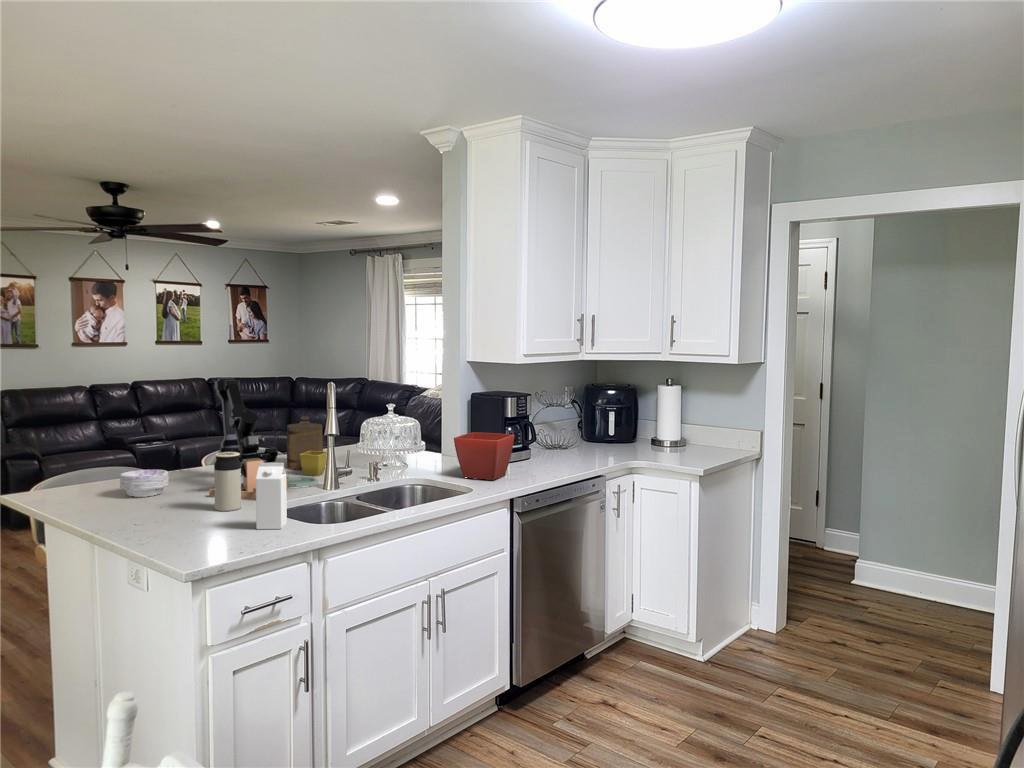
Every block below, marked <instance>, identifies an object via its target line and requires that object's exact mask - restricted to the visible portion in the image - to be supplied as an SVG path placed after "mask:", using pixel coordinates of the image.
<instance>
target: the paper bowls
mask: <svg viewBox="0 0 1024 768" xmlns="http://www.w3.org/2000/svg"><path fill="white" fill-rule="evenodd" d="M167 486H169V471H168V470H165V469H139V470H130V471H125V472H122V473H120V474H119V488H120V489H122V490H124V491H125V492H126V493H127V495H128V496H130V497H132V496H134V497H133V498H148V497H147V496H150V497H155V496H158V495H159V494H161V493H162V491H163V490H164V488H165V487H167ZM157 494H158V495H157ZM154 495H155V496H154Z"/></svg>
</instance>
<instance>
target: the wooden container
mask: <svg viewBox="0 0 1024 768" xmlns="http://www.w3.org/2000/svg"><path fill="white" fill-rule="evenodd" d="M309 420H310V417H309V416H308V415H303V416H301V417H300V422H299V423H292V424H291V423H290V424H287V425H286V467H287V469H288V468H289V470H292V469H296V470H295V471H303V470H302V467H301V461H300V454H302V453H305V452H307V451H324V440H323V438H324V437H323V435H324V434H323V424H322V423H315V422H310V421H309Z"/></svg>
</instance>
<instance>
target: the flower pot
mask: <svg viewBox="0 0 1024 768" xmlns="http://www.w3.org/2000/svg"><path fill="white" fill-rule="evenodd" d="M327 452H328V451H324V450H323V451H307V452H305V453H302V454H300V461H301V467H302V470H301V471H303V474H304V475H305V476H312V475H315V477H317V475H318V476H320V475H322V473H323V474H324V472H325V471H324V470H326V469H325V465H326V455H327Z"/></svg>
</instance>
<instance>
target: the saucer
mask: <svg viewBox="0 0 1024 768" xmlns="http://www.w3.org/2000/svg"><path fill="white" fill-rule="evenodd" d="M316 483H318V484H319V479H317V478H316V477H312V476H311V477H310V476H296V477H295V476H294V477H289V487H302V486H312V485H314V484H316ZM312 487H313V486H312Z"/></svg>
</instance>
